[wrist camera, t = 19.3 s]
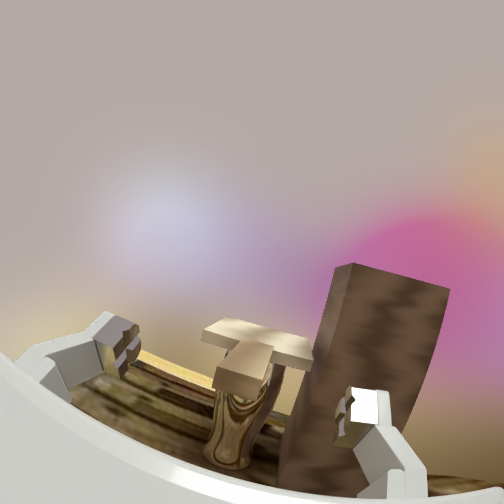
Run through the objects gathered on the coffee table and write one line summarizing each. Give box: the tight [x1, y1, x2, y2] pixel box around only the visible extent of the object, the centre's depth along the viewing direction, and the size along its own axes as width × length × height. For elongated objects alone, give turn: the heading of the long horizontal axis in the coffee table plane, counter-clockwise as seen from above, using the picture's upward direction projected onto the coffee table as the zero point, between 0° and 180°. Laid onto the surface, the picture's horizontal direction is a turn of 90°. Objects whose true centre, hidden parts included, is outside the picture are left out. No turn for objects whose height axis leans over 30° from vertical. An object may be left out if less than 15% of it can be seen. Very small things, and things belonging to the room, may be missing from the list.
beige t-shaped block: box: [201, 317, 314, 401], centre depth 28 cm, size 11×21×2 cm, turn 171°
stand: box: [276, 263, 450, 498], centre depth 31 cm, size 11×12×26 cm
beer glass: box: [203, 349, 286, 470], centre depth 31 cm, size 7×7×15 cm
